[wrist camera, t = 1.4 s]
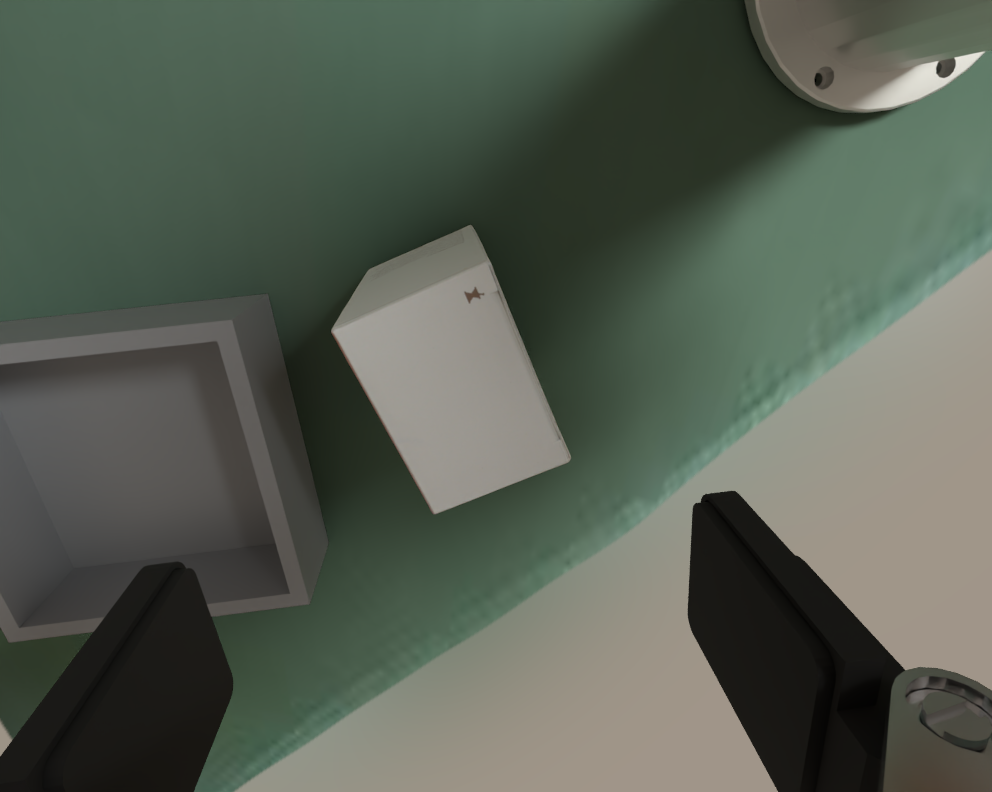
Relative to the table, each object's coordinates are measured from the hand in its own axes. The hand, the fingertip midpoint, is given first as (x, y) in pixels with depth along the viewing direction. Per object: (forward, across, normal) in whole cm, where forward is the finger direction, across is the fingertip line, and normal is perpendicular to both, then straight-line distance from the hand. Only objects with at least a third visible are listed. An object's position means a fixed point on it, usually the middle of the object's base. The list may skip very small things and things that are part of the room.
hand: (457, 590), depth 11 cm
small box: (+20, 0, 0) cm, 20 cm away
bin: (+20, +16, +5) cm, 26 cm away
